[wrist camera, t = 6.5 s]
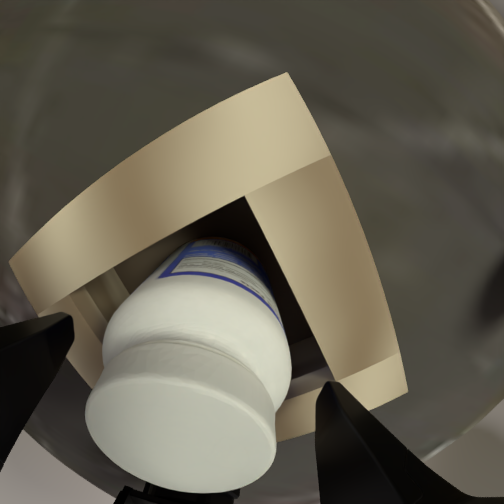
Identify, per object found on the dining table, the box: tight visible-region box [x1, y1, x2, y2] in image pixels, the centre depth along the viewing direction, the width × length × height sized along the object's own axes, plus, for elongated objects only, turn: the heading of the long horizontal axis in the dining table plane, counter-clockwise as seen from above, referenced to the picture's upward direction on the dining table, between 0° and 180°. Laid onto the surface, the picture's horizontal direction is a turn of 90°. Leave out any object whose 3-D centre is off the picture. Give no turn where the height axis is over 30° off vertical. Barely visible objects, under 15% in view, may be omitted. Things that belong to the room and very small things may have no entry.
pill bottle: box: [85, 237, 292, 493], centre depth 9 cm, size 6×5×10 cm
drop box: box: [9, 73, 408, 442], centre depth 12 cm, size 12×12×6 cm
